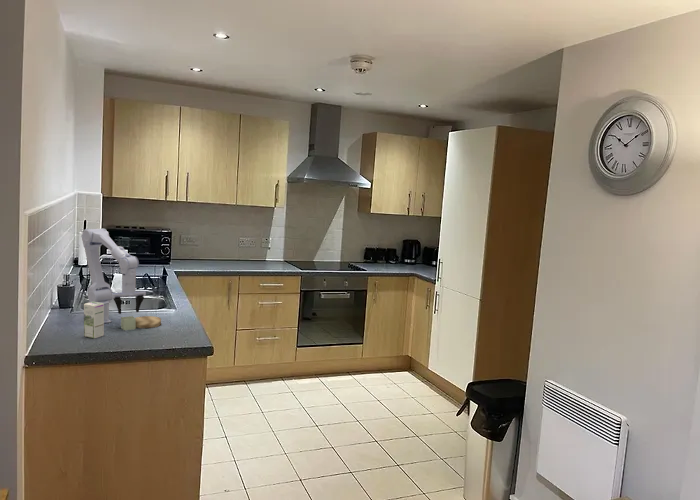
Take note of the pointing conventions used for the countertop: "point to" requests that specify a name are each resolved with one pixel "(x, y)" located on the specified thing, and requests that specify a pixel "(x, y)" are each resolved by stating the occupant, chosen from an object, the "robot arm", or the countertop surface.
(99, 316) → the syrup box
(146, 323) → the base
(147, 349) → the countertop surface
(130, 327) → the cube
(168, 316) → the countertop surface
